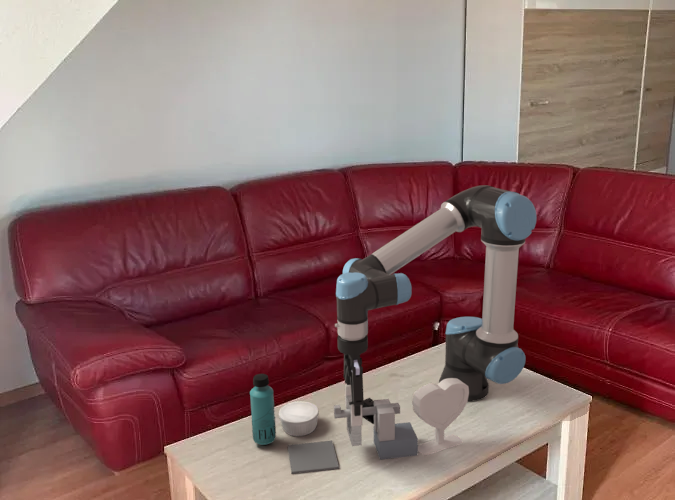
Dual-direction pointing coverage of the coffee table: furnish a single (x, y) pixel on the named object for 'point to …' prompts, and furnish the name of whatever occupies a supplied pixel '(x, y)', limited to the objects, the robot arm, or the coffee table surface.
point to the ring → (353, 427)
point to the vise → (387, 430)
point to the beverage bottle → (262, 410)
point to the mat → (312, 457)
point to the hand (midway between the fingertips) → (353, 415)
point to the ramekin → (299, 418)
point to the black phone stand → (368, 403)
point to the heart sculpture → (440, 411)
